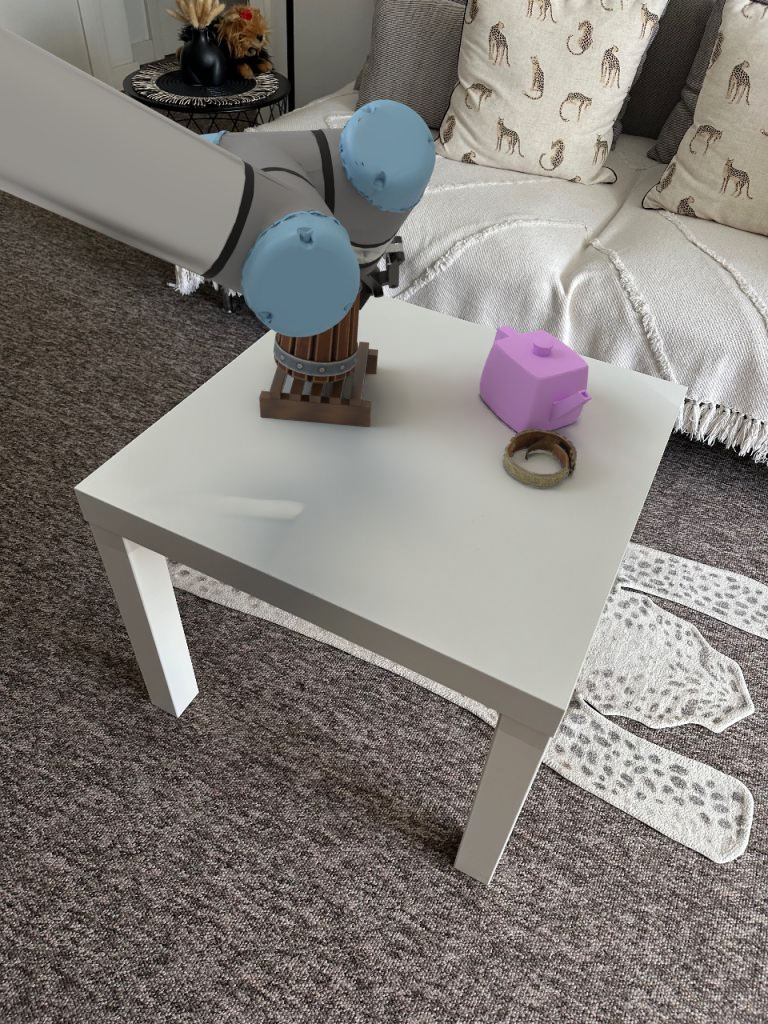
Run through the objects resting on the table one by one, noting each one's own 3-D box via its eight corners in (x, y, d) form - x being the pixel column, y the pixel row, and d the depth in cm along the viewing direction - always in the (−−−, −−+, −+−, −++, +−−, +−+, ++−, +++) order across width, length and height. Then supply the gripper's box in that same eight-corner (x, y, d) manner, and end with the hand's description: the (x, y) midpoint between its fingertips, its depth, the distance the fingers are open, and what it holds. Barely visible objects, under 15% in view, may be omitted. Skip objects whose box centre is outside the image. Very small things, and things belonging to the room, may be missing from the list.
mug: (338, 395, 85) (354, 275, 75) (258, 369, 86) (263, 249, 76) (379, 341, 96) (398, 231, 87) (308, 319, 98) (318, 208, 88)
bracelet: (580, 458, 88) (586, 439, 86) (563, 499, 83) (569, 480, 81) (513, 437, 91) (518, 418, 89) (492, 475, 85) (496, 456, 83)
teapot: (602, 438, 92) (626, 370, 85) (538, 458, 88) (557, 389, 81) (520, 368, 103) (535, 303, 96) (460, 383, 99) (471, 316, 92)
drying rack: (260, 417, 90) (258, 390, 87) (278, 359, 100) (277, 333, 98) (369, 427, 90) (371, 401, 87) (377, 368, 100) (378, 343, 98)
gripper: (242, 274, 65) (232, 340, 87) (466, 260, 71) (404, 325, 92) (229, 193, 65) (223, 279, 87) (455, 185, 71) (396, 268, 92)
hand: (316, 303), depth 90 cm, fingers closed on mug, 10 cm apart
